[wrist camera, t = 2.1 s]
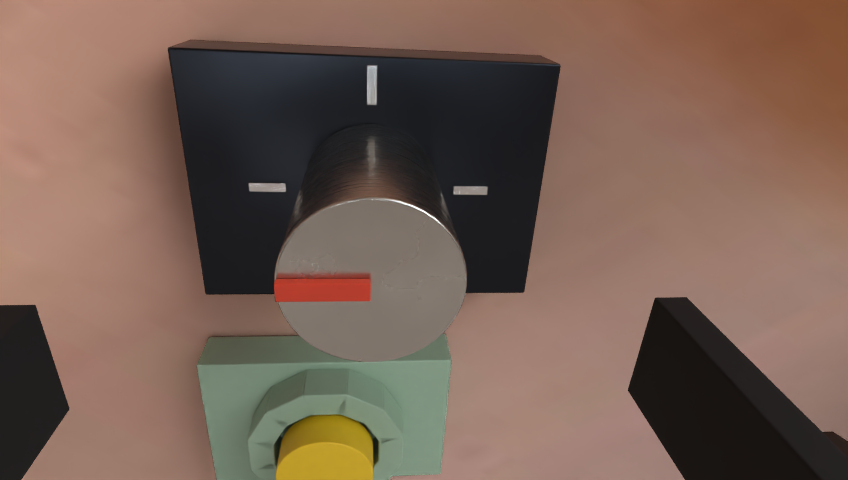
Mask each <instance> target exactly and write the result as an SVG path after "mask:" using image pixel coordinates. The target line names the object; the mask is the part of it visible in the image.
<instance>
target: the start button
mask: <svg viewBox="0 0 848 480" xmlns="http://www.w3.org/2000/svg"><path fill="white" fill-rule="evenodd" d="M276 480H373V441H372V438H371V435H370V433H369V432H368V430H367V429H366V428H365V427H364V426H363V425H362V424H361V423H359V422H358V421H356V420H354V419H351V418H348V417H346V416H343V415H339V414H332V415H313V416H309V417H306V418H304V419H302V420H300V421H298V422H296V423H295V424H294V425H292V426H291V427H290V428H289V429H288V431H287V432H286V433H285V435H284V437H283V439H282V442H281V448H280V453H279V458H278V464H277V469H276Z"/></svg>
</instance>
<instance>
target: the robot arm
mask: <svg viewBox="0 0 848 480" xmlns="http://www.w3.org/2000/svg"><path fill="white" fill-rule="evenodd" d="M628 391H629V393H630V394H631V396H632V398H633V399H634V401H635V402H636V404H637V405H638V407H639V409H640V410H641V412H642V413H643V415H644V416H645V418H646V419H647V421H648V423H649V424H650V426H651V427H652V429H653V430H654V432H655V434H656V435H657V437H658V438H659V440H660V441H661V443H662V445H663V446H664V448H665V449H666V451H667V452H668V454H669V455H670V457H671V459H672V460H673V462H674V463H675V465H676V466H677V468H678V470H679V471H680V473H681V474H682V476H683V477H684V479H685V480H848V441H846V440H845V439H843V438H842V437H840V436H839V435H837V434H836V433H834V432H822V431H821V430H820V429H819V428H818V427H817V426H816V425H815V424H814V423H813V422H811V421H810V420H809V419H808V418H807V417H806V416H805V415H804V414H803V413H802V412H801V411H800V410H799V409H798V408H797V407H796V406H795V405H794V404H793V403H792V402H791V401H790V400H789V399H788V398H787V397H786V396H785V395H784V394H783V393H782V392H781V391H780V390H779V389H778V388H777V387H776V386H775V385H774V384H773V383H772V382H771V381H770V380H769V379H768V378H767V377H766V376H765V375H764V374H763V373H762V372H761V371H760V370H759V369H758V368H757V367H756V366H755V365H754V364H753V363H752V362H751V361H750V360H749V359H748V358H747V357H746V356H745V355H744V354H743V353H742V352H741V351H740V350H739V349H738V348H737V347H736V346H735V345H734V344H733V343H732V342H731V341H730V340H729V339H728V338H727V337H726V336H725V335H724V334H723V333H722V332H721V331H720V330H719V329H718V328H717V327H716V326H715V325H714V324H713V323H712V322H711V321H710V320H709V319H708V318H707V317H706V316H705V315H704V314H703V313H702V312H701V311H700V310H699V309H698V308H697V307H696V306H695V305H694V304H693V303H692V302H691V301H690V300H689V299H688V298H687V297H675V298H655V300H654V303H653V306H652V310H651V313H650V317H649V320H648V323H647V327H646V330H645V334H644V337H643V340H642V344H641V347H640V351H639V354H638V358H637V361H636V364H635V368H634V371H633V375H632V378H631V381H630V385H629V388H628ZM68 410H69V406H68V403H67V400H66V397H65V394H64V391H63V388H62V385H61V382H60V379H59V375H58V372H57V369H56V366H55V363H54V360H53V357H52V354H51V351H50V348H49V345H48V342H47V339H46V336H45V333H44V330H43V327H42V324H41V321H40V318H39V315H38V311H37V308H36V305H0V480H21V479H22V478H23V476H24V475H25V474H26V472H27V471H28V469H29V468H30V466H31V465H32V463H33V462H34V460H35V459H36V457H37V456H38V454H39V453H40V451H41V450H42V449H43V447H44V446H45V444H46V443H47V441H48V440H49V438H50V437H51V435H52V434H53V432H54V431H55V429H56V428H57V427H58V425H59V424H60V422H61V421H62V419H63V418H64V416H65V415H66V413H67V412H68Z"/></svg>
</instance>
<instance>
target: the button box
mask: <svg viewBox="0 0 848 480" xmlns="http://www.w3.org/2000/svg"><path fill="white" fill-rule="evenodd" d="M451 361H452V360H451V356H450V351H449V347H448V342H447V338H446V334H442V335H440V336H439V337H438V338H437V339H436V340H435V341H433V342H432V343H430V344H429V345H427V346H426V347H424V348H422V349H420V350H419V351H417V352H414V353H412V354H410V355H407V356H404V357H401V358H397V359H393V360H388V361H380V362H358V361H351V360H346V359H342V358H338V357H335V356H332V355H329V354H327V353H325V352H323V351H321V350H319V349H317V348H315V347H314V346H312V345H311V344H309V343H307V342H306V341H305V340H304V339H303V338H301V337H300V336H255V337H209V338H208V341H207V343H206V345H205V347H204V350H203V352H202V354H201V356H200V359H199V361H198V363H197V372H198V377H199V383H200V389H201V394H202V400H203V406H204V411H205V417H206V423H207V429H208V434H209V440H210V446H211V451H212V457H213V463H214V468H215V474H216V480H276V469H277V464H278V458H279V453H280V448H281V442H282V439H283V437H284V435H285V433H286V432H287V431H288V429H289V428H290V427H291V426H292V425H294V424H295V423H296V422H298V421H300V420H302V419H304V418H306V417H309V416H313V415H332V414H339V415H343V416H346V417H348V418H351V419H354V420H356V421H358V422H359V423H361V424H362V425H363V426H364V427H365V428H366V429H367V430H368V432H369V433H370V435H371V438H372V441H373V480H389V479H390V478H391V477H392V476H409V475H431V474H440V473H441V465H442V455H443V444H444V434H445V423H446V413H447V402H448V392H449V381H450V371H451Z"/></svg>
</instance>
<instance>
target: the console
mask: <svg viewBox="0 0 848 480" xmlns="http://www.w3.org/2000/svg"><path fill="white" fill-rule="evenodd" d="M168 53H169V60H170V66H171V73H172V79H173V86H174V92H175V99H176V105H177V112H178V118H179V125H180V131H181V138H182V144H183V151H184V157H185V164H186V170H187V177H188V183H189V190H190V196H191V203H192V209H193V216H194V222H195V229H196V235H197V242H198V248H199V254H200V261H201V267H202V274H203V280H204V287H205V293H206V294H274V274H275V267H276V262H277V259H278V256H279V253H280V250H281V247H282V243H283V240H284V237H285V234H286V231H287V228H288V225H289V222H290V219H291V216H292V212H293V209H294V206H295V203H296V200H297V197H298V194H299V191H300V188H301V185H302V181H303V178H304V175H305V172H306V169H307V166H308V163H309V161H310V159H311V157H312V155H313V154H314V152H315V151H316V149H317V148H318V147H319V146H320V145H321V143H322V142H323V141H325V140H326V139H327V138H328V137H329V136H331V135H333V134H334V133H336V132H338V131H340V130H342V129H344V128H347V127H350V126H354V125H360V124H380V125H385V126H389V127H392V128H395V129H398V130H400V131H402V132H403V133H405V134H407V135H408V136H410V137H411V138H413V139H414V140H415V141H416V142H417V143H418V144H419V145H420V146H421V147H422V148H423V150H424V151H425V152H426V154H427V156H428V157H429V159H430V161H431V163H432V166H433V168H434V171H435V174H436V177H437V180H438V183H439V186H440V189H441V192H442V194H443V197H444V200H445V203H446V206H447V209H448V212H449V215H450V218H451V221H452V223H453V226H454V229H455V232H456V235H457V238H458V241H459V244H460V247H461V249H462V252H463V256H464V259H465V263H466V269H467V287H466V293H523V292H524V290H525V284H526V277H527V271H528V265H529V259H530V253H531V246H532V240H533V234H534V228H535V222H536V215H537V209H538V203H539V197H540V190H541V184H542V178H543V172H544V166H545V159H546V153H547V147H548V141H549V135H550V128H551V122H552V116H553V110H554V104H555V97H556V91H557V85H558V79H559V73H560V64H558V63H556V62H554V61H551V60H549V59H547V58H545V57H542V56H539V55H516V54H494V53H472V52H449V51H427V50H405V49H382V48H360V47H338V46H316V45H293V44H271V43H249V42H226V41H204V40H189V41H186V42H183V43H180V44H177V45H174V46H172V47H169V48H168Z"/></svg>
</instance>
